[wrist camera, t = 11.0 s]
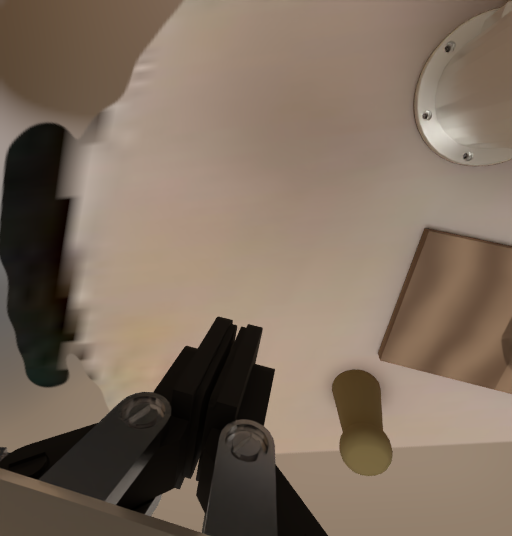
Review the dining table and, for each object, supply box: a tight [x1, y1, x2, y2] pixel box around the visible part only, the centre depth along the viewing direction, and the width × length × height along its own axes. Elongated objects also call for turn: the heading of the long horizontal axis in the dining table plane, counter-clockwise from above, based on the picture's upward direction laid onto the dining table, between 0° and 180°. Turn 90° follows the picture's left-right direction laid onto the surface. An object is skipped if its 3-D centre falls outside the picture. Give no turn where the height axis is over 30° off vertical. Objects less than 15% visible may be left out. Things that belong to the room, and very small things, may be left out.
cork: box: [332, 370, 392, 476], centre depth 38 cm, size 6×6×11 cm
